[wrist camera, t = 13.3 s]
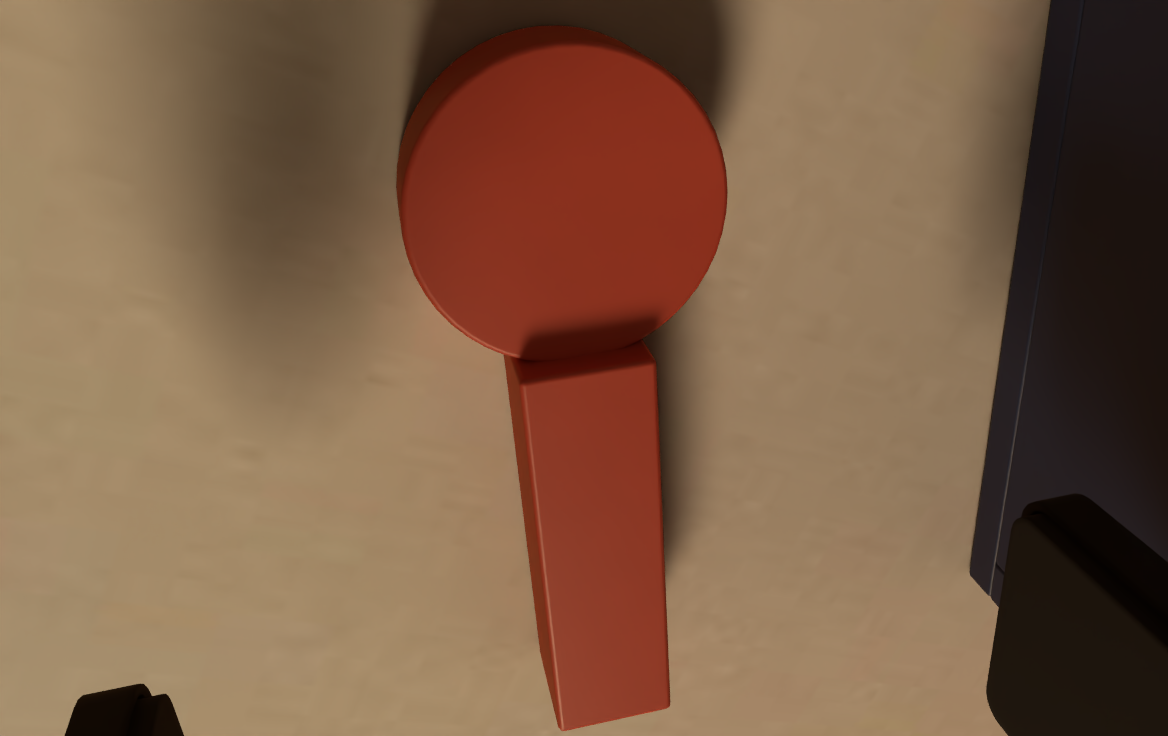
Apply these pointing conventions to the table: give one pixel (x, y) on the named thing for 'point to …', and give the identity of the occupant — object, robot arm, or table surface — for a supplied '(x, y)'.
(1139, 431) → the navy bin
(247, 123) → the table surface
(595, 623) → the brick-red spoon
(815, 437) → the table surface
